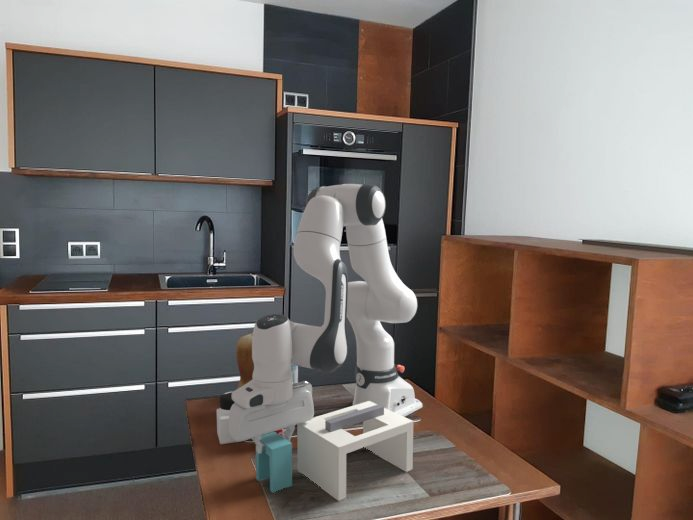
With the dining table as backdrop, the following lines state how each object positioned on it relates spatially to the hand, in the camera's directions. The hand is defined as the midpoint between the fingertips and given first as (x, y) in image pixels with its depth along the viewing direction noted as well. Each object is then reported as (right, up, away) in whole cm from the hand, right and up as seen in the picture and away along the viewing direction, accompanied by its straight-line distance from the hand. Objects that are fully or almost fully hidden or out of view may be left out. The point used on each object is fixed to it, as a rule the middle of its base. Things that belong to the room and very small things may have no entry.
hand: (273, 448), depth 123 cm
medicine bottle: (-14, -6, +24) cm, 28 cm away
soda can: (-3, -6, +20) cm, 21 cm away
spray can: (-2, -2, +52) cm, 52 cm away
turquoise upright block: (0, -8, +1) cm, 8 cm away
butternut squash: (-9, -4, +38) cm, 39 cm away
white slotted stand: (+19, -8, +6) cm, 21 cm away
